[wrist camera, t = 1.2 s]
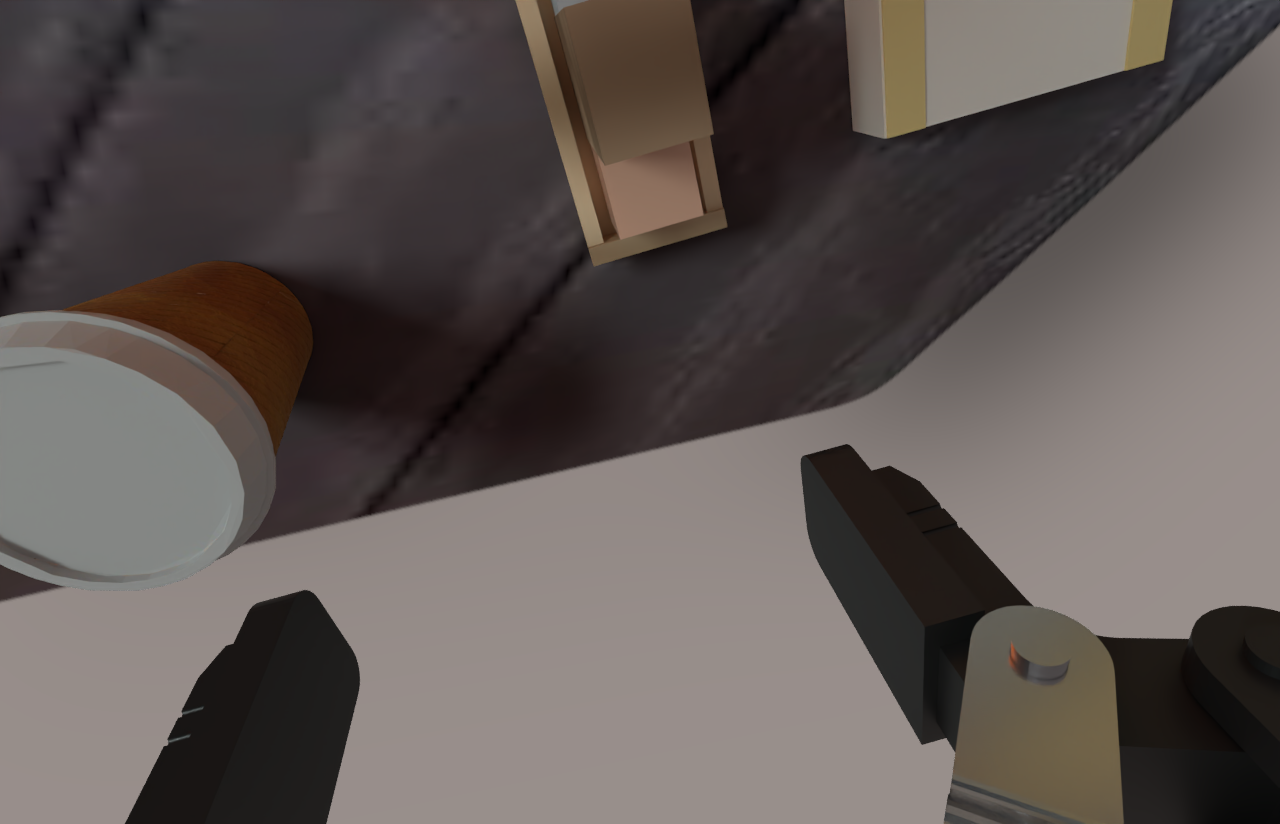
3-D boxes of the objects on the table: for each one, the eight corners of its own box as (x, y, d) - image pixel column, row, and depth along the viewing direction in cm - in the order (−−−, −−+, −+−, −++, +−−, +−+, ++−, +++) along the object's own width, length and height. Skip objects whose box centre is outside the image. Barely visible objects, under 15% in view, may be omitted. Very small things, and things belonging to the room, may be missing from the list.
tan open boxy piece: (479, -124, 23) (458, -202, 16) (639, -170, 24) (691, -268, 16) (588, 249, 31) (608, 313, 23) (711, 213, 31) (771, 265, 23)
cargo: (588, 138, 27) (596, 150, 24) (668, 115, 27) (685, 124, 24) (610, 220, 29) (620, 239, 26) (685, 197, 29) (703, 215, 26)
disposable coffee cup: (375, 274, 29) (293, 399, 19) (322, 445, 33) (229, 628, 22) (130, 182, 26) (-130, 271, 16) (102, 383, 30) (-125, 562, 19)
